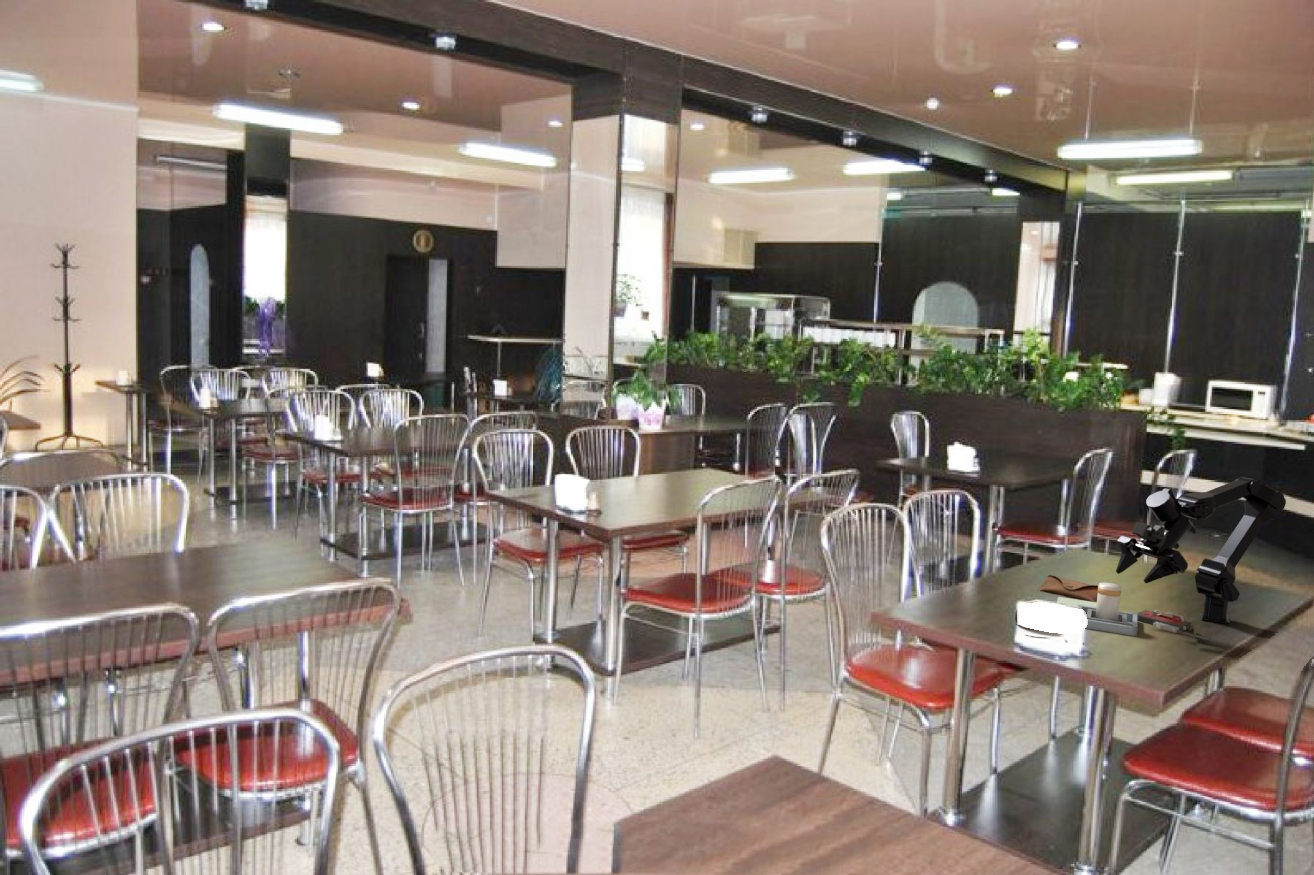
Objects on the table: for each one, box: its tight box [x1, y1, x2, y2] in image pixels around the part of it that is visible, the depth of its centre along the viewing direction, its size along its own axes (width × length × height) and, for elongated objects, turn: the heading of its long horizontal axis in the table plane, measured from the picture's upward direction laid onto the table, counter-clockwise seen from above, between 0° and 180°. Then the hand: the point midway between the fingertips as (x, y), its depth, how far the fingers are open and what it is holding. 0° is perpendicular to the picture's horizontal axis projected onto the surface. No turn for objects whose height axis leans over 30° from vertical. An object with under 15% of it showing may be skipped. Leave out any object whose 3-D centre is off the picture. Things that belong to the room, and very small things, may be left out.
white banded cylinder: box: [1095, 582, 1122, 621], centre depth 253 cm, size 5×5×10 cm
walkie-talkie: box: [1136, 609, 1212, 643], centre depth 253 cm, size 9×4×20 cm
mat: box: [1056, 596, 1097, 608], centre depth 270 cm, size 11×11×1 cm
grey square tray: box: [1078, 605, 1138, 637], centre depth 254 cm, size 14×14×3 cm
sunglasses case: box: [1038, 574, 1099, 602], centre depth 284 cm, size 18×7×7 cm, turn 47°
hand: (1130, 577), depth 254 cm, fingers open, 9 cm apart
